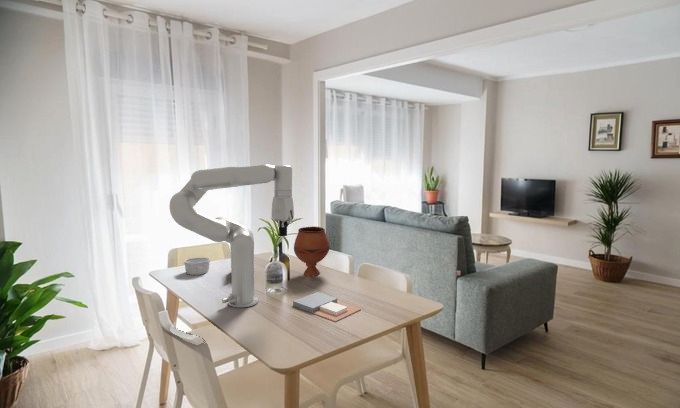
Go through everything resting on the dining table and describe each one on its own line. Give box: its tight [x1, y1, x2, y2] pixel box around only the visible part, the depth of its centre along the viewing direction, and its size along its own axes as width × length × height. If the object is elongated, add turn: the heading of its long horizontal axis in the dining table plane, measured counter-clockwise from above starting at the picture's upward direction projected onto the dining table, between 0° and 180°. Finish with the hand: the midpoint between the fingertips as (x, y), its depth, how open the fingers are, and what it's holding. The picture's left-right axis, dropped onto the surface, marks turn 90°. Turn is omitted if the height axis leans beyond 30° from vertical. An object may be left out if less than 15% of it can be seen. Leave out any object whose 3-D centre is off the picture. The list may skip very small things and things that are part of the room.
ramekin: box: [183, 256, 211, 276], centre depth 211 cm, size 13×13×7 cm
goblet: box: [293, 226, 330, 277], centre depth 209 cm, size 19×19×25 cm
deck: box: [292, 291, 338, 314], centre depth 166 cm, size 15×12×2 cm
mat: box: [312, 301, 362, 323], centre depth 158 cm, size 16×12×1 cm
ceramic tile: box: [320, 302, 348, 316], centre depth 159 cm, size 7×9×2 cm
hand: (283, 235), depth 168 cm, fingers closed
